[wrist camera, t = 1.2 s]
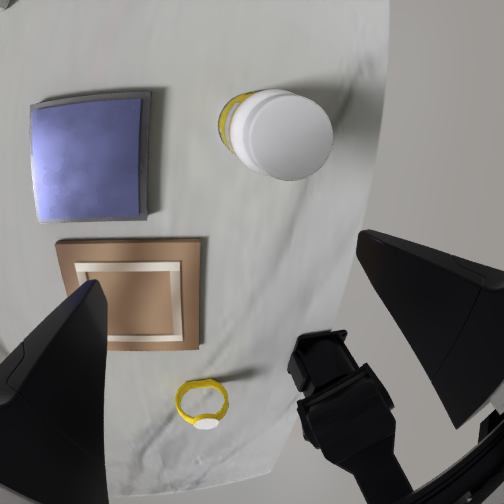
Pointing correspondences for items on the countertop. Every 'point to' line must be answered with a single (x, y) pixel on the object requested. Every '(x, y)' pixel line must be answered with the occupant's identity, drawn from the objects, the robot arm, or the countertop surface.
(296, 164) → the supplement bottle
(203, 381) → the watch
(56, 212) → the ink pad
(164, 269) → the marked board
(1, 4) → the skincare box
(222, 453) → the countertop surface
